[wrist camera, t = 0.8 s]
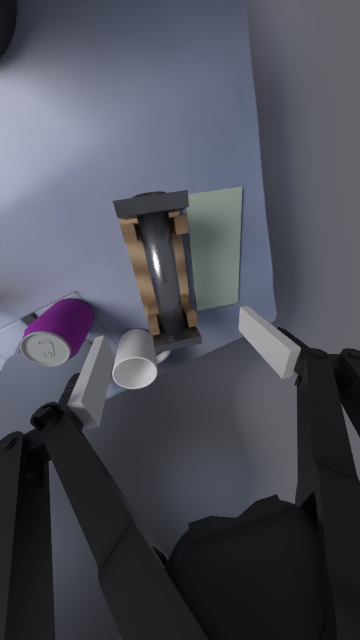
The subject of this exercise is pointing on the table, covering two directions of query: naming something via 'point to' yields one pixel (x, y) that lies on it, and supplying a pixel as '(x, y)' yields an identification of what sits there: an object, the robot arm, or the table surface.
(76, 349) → the beverage can
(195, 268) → the mat
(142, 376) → the mug
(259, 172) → the table surface
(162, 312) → the rod
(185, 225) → the cradle
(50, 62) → the table surface
